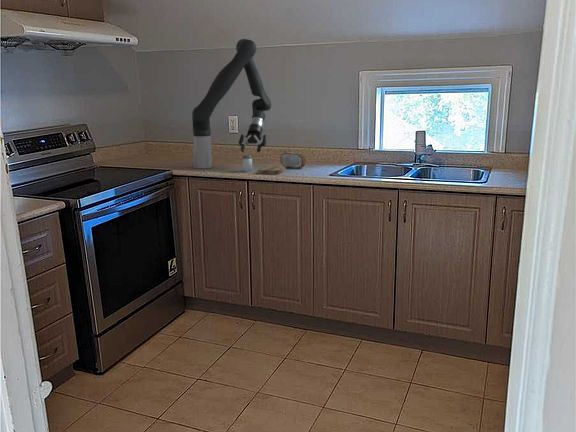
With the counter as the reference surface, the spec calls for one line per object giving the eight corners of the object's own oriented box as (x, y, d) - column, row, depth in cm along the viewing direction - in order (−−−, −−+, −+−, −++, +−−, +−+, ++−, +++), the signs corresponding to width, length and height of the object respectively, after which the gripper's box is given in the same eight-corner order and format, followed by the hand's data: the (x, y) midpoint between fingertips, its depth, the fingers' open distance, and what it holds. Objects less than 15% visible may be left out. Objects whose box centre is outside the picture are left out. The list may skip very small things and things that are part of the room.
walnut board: (257, 173, 272) (257, 169, 271) (265, 169, 285) (265, 165, 285) (278, 174, 269) (278, 170, 269) (285, 170, 282) (285, 166, 282)
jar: (241, 171, 279) (241, 156, 277) (244, 170, 283) (244, 155, 281) (250, 172, 277) (250, 156, 276) (253, 170, 282) (253, 155, 280)
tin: (305, 168, 289) (305, 152, 287) (302, 169, 286) (302, 153, 284) (282, 166, 297) (282, 151, 295) (279, 167, 294) (279, 151, 292)
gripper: (241, 123, 289) (235, 146, 281) (267, 123, 286) (261, 147, 277) (245, 132, 295) (239, 155, 287) (270, 132, 292) (264, 156, 284)
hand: (250, 151), depth 282 cm, fingers open, 8 cm apart
